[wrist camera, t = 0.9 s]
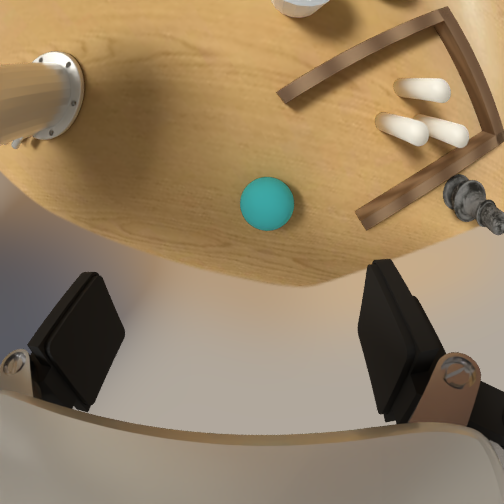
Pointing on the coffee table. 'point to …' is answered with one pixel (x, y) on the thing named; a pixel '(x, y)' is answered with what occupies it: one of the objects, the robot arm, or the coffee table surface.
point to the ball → (267, 203)
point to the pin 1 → (423, 89)
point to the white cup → (298, 7)
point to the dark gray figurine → (472, 203)
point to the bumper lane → (475, 88)
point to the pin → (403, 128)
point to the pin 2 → (445, 130)
